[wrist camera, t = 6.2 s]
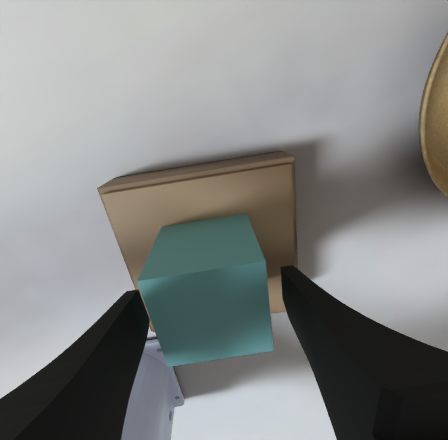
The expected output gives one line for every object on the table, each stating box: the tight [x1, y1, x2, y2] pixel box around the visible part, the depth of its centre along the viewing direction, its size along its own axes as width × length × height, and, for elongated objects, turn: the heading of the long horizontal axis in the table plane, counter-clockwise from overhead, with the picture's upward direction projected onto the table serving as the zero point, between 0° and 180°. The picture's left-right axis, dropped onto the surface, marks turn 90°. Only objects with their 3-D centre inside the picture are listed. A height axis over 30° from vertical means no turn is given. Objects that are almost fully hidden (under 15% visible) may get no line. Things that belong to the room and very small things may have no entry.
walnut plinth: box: [97, 151, 297, 332], centre depth 16 cm, size 11×11×3 cm
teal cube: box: [137, 213, 274, 367], centre depth 12 cm, size 5×5×5 cm
